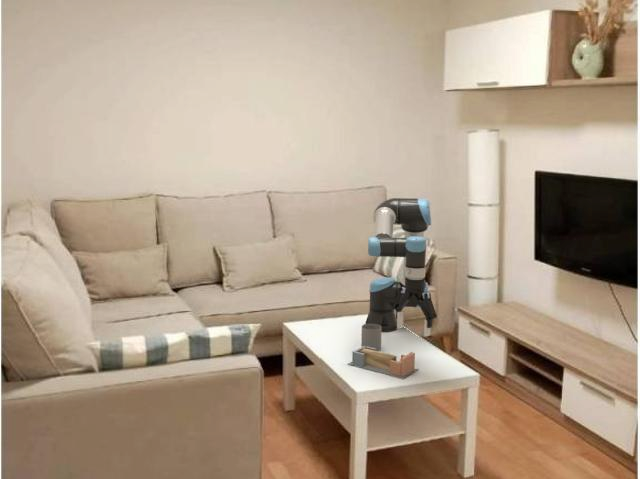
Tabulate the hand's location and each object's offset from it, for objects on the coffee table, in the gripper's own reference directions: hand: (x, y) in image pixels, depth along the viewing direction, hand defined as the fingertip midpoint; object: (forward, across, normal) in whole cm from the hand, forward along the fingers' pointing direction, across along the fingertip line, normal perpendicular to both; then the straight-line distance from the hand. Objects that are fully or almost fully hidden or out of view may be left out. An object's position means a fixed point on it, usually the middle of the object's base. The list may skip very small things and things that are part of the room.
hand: (413, 331), depth 284 cm
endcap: (+17, -5, 0) cm, 18 cm away
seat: (+18, -14, -2) cm, 22 cm away
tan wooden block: (+17, -16, -2) cm, 24 cm away
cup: (+18, -32, +11) cm, 38 cm away
